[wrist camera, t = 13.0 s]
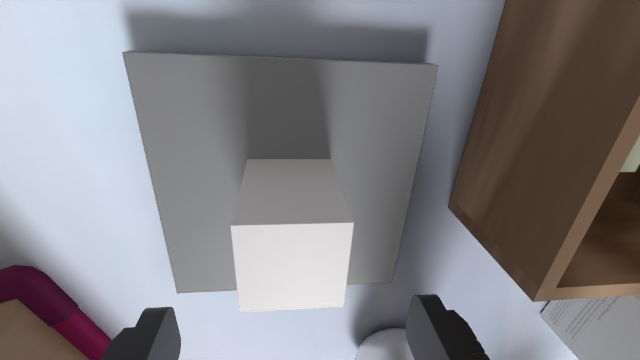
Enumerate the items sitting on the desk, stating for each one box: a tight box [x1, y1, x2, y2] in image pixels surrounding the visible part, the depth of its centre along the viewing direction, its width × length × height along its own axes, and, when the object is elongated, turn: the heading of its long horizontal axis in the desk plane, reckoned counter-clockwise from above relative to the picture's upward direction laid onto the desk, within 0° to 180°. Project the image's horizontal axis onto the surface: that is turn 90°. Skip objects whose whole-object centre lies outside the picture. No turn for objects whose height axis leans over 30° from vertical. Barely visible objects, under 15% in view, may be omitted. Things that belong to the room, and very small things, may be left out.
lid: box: [122, 51, 439, 313], centre depth 16 cm, size 15×15×8 cm
